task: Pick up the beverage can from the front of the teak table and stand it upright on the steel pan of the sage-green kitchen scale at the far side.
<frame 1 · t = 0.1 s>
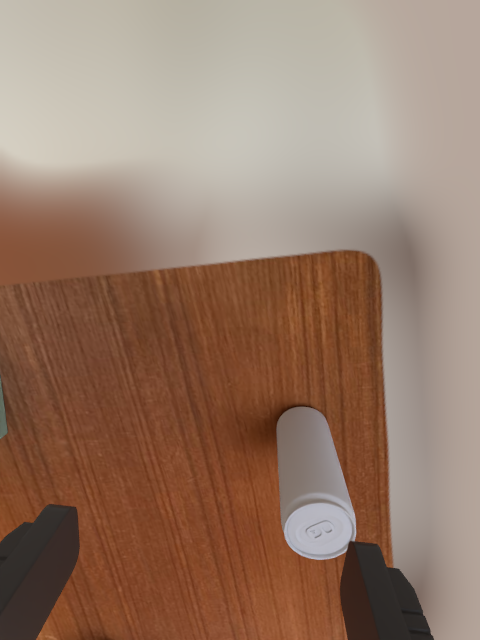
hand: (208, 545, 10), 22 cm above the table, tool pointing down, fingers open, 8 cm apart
beverage can: (301, 424, 34), on the table
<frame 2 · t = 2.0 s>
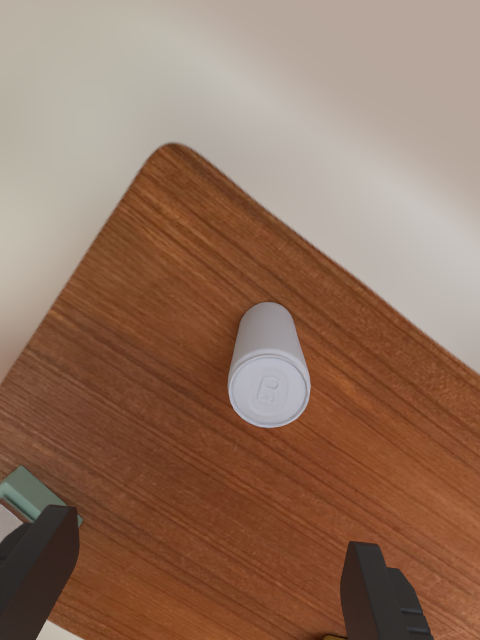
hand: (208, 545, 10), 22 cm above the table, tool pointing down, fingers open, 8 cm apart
scale: (27, 512, 39), on the table
scale pan: (6, 539, 36), point 3 cm above the table, slide at 0.0 cm
beverage can: (266, 326, 32), on the table
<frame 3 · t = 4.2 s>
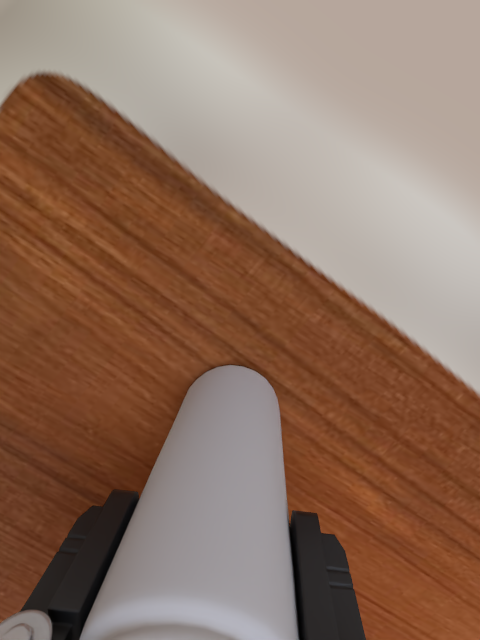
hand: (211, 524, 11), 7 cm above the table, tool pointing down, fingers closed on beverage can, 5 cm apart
beverage can: (232, 401, 18), on the table, touching gripper
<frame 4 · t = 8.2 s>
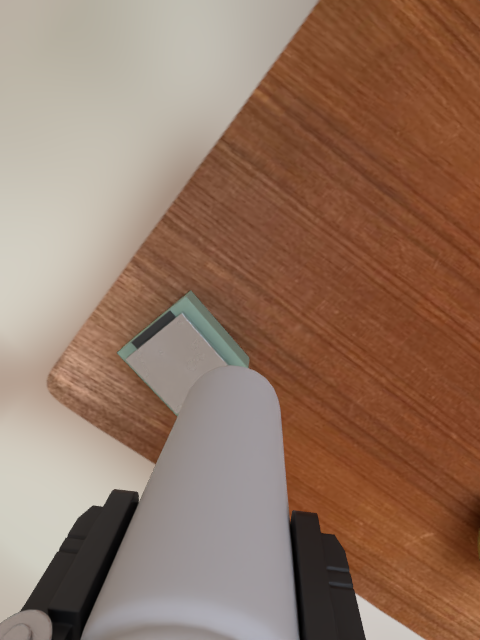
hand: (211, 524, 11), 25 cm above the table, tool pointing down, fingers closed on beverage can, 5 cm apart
scale: (187, 350, 36), on the table
scale pan: (180, 364, 33), point 3 cm above the table, slide at 0.0 cm
beverage can: (233, 402, 18), point 17 cm above the table, touching gripper
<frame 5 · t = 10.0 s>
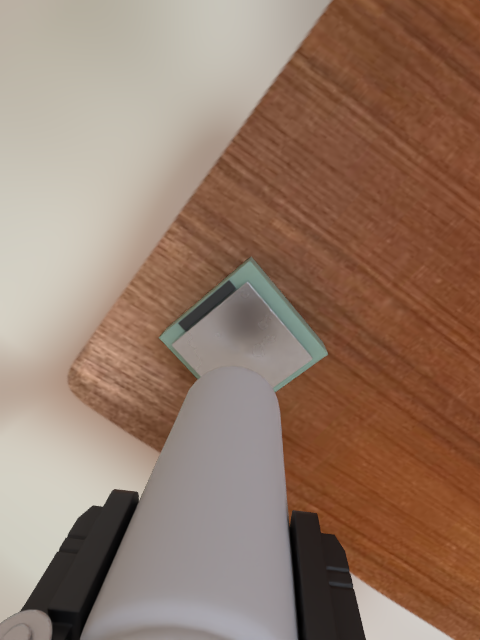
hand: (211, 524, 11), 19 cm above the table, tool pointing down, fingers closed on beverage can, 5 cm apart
scale: (244, 335, 29), on the table
scale pan: (241, 350, 26), point 3 cm above the table, slide at 0.0 cm
beverage can: (233, 402, 18), point 11 cm above the table, touching gripper
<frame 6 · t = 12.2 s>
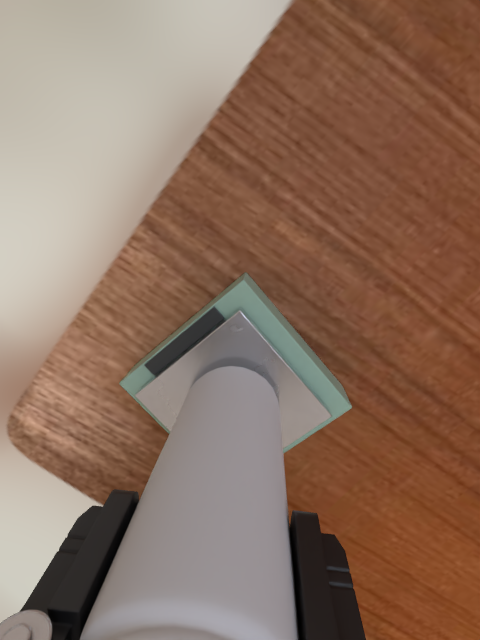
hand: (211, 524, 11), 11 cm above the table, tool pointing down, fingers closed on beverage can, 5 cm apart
scale: (237, 375, 22), on the table
scale pan: (232, 402, 19), point 3 cm above the table, slide at -0.1 cm, touching beverage can
beverage can: (233, 402, 18), point 3 cm above the table, touching gripper, scale pan
when the fingers open (11 cm above the table, at t = 12.2 s): beverage can stays where it is, resting on scale pan.
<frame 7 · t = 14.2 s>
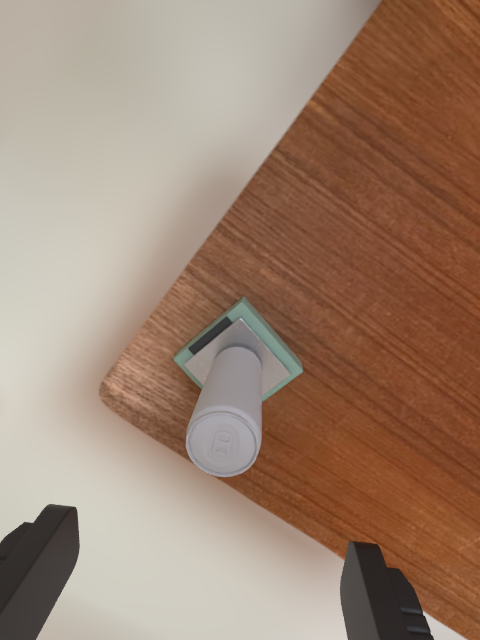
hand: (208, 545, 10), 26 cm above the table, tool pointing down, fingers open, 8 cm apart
scale: (239, 356, 37), on the table
scale pan: (237, 367, 34), point 3 cm above the table, slide at -0.2 cm, touching beverage can, scale
beverage can: (237, 367, 34), point 3 cm above the table, touching scale pan
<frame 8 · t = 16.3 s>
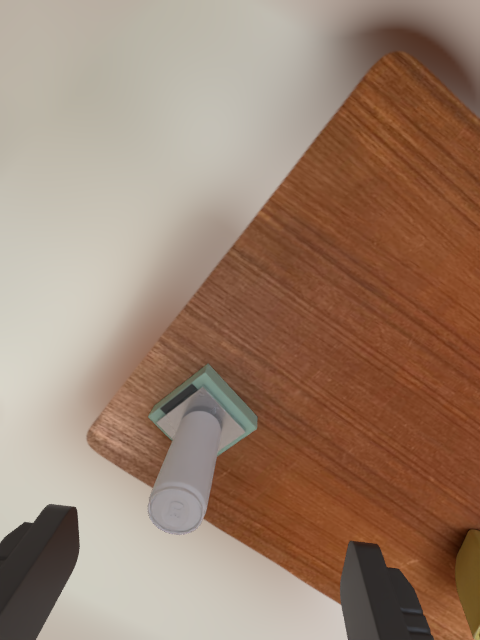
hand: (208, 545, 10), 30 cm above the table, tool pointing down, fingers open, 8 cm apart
flower pot: (479, 544, 47), on the table
scale: (205, 411, 44), on the table
scale pan: (201, 425, 41), point 3 cm above the table, slide at -0.2 cm, touching beverage can, scale
beverage can: (201, 426, 40), point 3 cm above the table, touching scale pan
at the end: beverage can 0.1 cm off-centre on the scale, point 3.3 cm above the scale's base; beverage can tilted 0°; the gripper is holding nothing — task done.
